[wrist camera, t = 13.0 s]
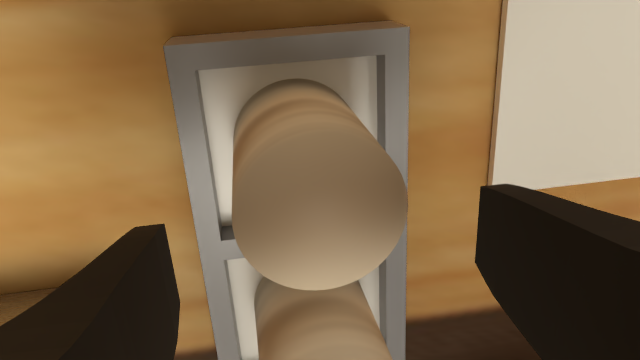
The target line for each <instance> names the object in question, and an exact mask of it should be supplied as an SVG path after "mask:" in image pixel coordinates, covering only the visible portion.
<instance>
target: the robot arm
mask: <svg viewBox="0 0 640 360" xmlns="http://www.w3.org/2000/svg"><path fill="white" fill-rule="evenodd" d="M475 263H476V265H477V267H478V269H479V271H480V272H481V274H482V276H483V278H484V280H485V282H486V284H487V285H488V287H489V289H490V291H491V292H492V294H493V296H494V297H495V299H496V300H497V301H498V303H499V304H500V305H501V307H502V308H503V309H504V311H505V312H506V313H507V315H508V316H509V317H510V319H511V320H512V321H513V323H514V324H515V325H516V327H517V328H518V329H519V330H520V332H521V333H522V334H523V336H524V337H525V338H526V340H527V341H528V342H529V343H530V345H531V346H532V347H533V349H534V350H535V351H536V353H537V354H538V355H539V356H540V358H541V359H542V360H640V222H639V221H636V220H632V219H628V218H625V217H621V216H617V215H614V214H610V213H607V212H603V211H600V210H597V209H593V208H590V207H587V206H584V205H581V204H577V203H574V202H571V201H568V200H565V199H562V198H559V197H555V196H552V195H549V194H546V193H543V192H539V191H536V190H532V189H529V188H525V187H521V186H517V185H512V184H497V185H489V186H481V189H480V202H479V216H478V229H477V243H476V256H475ZM179 312H180V299H179V294H178V289H177V284H176V279H175V274H174V269H173V264H172V259H171V254H170V249H169V244H168V239H167V234H166V229H165V224H157V225H148V226H140V227H135V228H133V229H132V230H130V231H129V232H127V233H126V234H125V235H124V236H122V237H121V238H120V239H119V240H117V241H116V242H115V243H114V244H113V245H111V246H110V247H109V248H108V249H107V250H105V251H104V252H103V253H102V254H101V255H99V256H98V257H97V258H96V259H94V260H93V261H92V262H91V263H90V264H88V265H87V266H86V267H85V268H83V269H82V270H81V271H80V272H78V273H77V274H76V275H74V276H73V277H72V278H70V279H69V280H68V281H66V282H65V283H64V284H62V285H61V286H60V287H58V288H57V289H56V290H54V291H53V292H52V293H50V294H49V295H48V296H46V297H45V298H43V299H42V300H40V301H39V302H38V303H36V304H35V305H33V306H32V307H30V308H29V309H27V310H26V311H24V312H22V313H21V314H19V315H18V316H16V317H14V318H13V319H11V320H9V321H8V322H6V323H5V324H3V325H1V326H0V360H173V359H174V355H175V350H176V345H177V338H178V326H179Z"/></svg>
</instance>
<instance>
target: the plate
mask: <svg viewBox="0 0 640 360" xmlns="http://www.w3.org/2000/svg"><path fill="white" fill-rule="evenodd" d="M635 177H640V0H503V3H502V16H501V28H500V40H499V52H498V64H497V76H496V88H495V100H494V113H493V125H492V137H491V149H490V161H489V173H488V185H487V186H489V185H497V184H512V185H517V186H521V187H525V188H529V189H532V190H535V189H544V188H552V187H560V186H569V185H577V184H585V183H593V182H602V181H610V180H618V179H626V178H635Z"/></svg>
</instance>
